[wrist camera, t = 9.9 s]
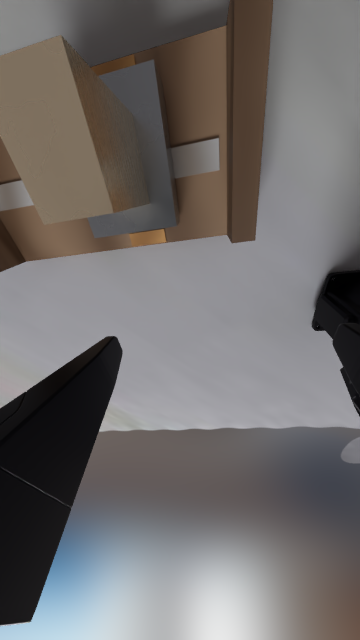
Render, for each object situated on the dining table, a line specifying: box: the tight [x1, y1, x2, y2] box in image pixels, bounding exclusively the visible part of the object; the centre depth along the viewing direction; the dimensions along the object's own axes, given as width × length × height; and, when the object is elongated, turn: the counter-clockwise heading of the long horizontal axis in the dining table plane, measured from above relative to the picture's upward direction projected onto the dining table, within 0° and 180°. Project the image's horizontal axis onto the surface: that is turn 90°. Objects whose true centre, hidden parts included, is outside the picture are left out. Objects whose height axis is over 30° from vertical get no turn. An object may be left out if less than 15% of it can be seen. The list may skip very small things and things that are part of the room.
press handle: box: [0, 35, 180, 238], centre depth 10 cm, size 6×7×8 cm
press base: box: [0, 0, 273, 272], centre depth 13 cm, size 22×10×4 cm, turn 98°
